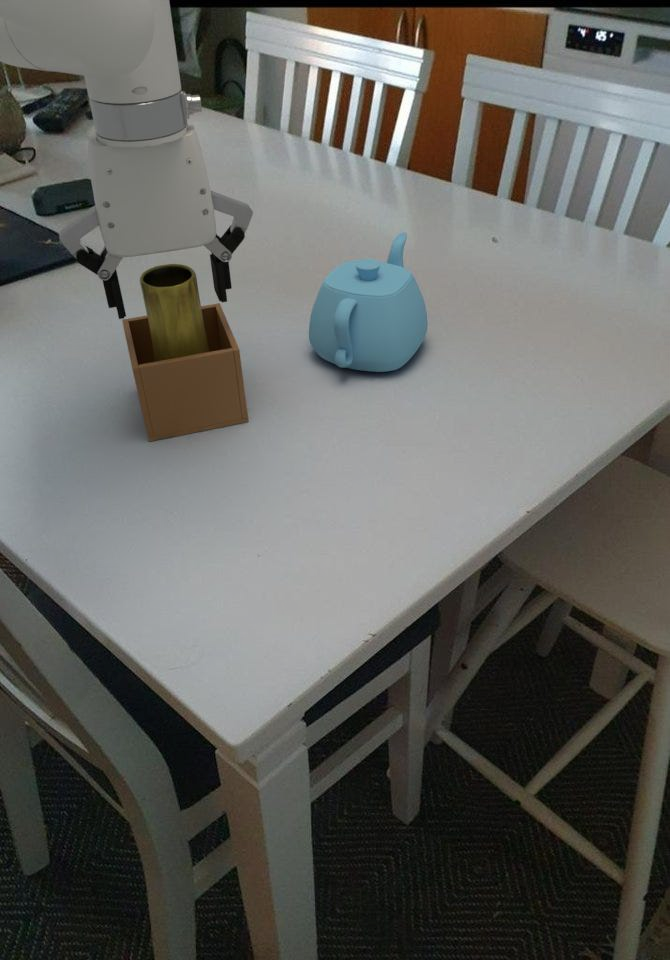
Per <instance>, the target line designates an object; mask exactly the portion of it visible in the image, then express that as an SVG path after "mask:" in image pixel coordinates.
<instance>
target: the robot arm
mask: <svg viewBox="0 0 670 960" xmlns="http://www.w3.org/2000/svg"><path fill="white" fill-rule="evenodd" d="M176 47H177V46H176V40H175V33H174V25H173V17H172V11H171V4H170V0H0V63H3V64H5V65H9V66H12V67H17V68H22V69H29V70H37V71H42V72H43V71H44V72H55V73H62V74H63V73H64V74H70V75H77V76H83V77H84V83H85V85H86V86H85V87H86V91H87V96H88V100H89V105H90V111H91V116H92V120H93V125H94V130H95V131H94V132H91V133H90V134H89V135H88V136H87V156H88V167H89V175H90V176H89V177H90V182H91V188H92V194H93V201H94V205H93V206H92V207H90V208H88V210H86V211H84V212H83V213H82V214H80V215H79V216H78V217H76V218H74V219H73V220H72V221H70V222H69V223H68V224H66V225H65V226H63V227H62V228H61V229H59V232H58V236H59V237H58V238H59V241H60V243H61V244H62V245H63V247H65V248H66V250H67V251H68V252H69V253H70V254H71V255H72V256H73V257H74V258H75V260H76V262H77V264H79V265H81V266H82V267H84V268H85V269H87V270H89V271H90V272H91V273H93V274H94V275H96V276H97V277H98V279H99V280H101V281H102V284H103V289H104V293H105V299H106V302H107V306H108V307H107V308H108V309H113V308H116V312H117V316H118V320H123V319H125V318H126V317H127V313H126V309H125V303H124V299H123V295H122V290H121V285H120V281H119V276H118V272H117V268H118V266H119V264H120V263H121V261H122V260H123V258H133V257H139V256H140V257H141V256H147V255H153V254H161V253H169V252H174V251H181V250H187V249H194V248H200V247H205V249H207V250H208V251H209V252H210V253H211V254H209V259H210V269H211V274H212V282H213V283H212V284H213V290H214V292H215V294H216V297H217V299H218V302H221V303H228V296H227V290H232V288H233V287H232V279H231V272H230V271H231V270H230V261H231V260H232V257H233V254H234V253H235V251H236V250H237V249H238V247H239V246H240V245H241V244H242V243H243V241H244V239H245V238H246V231H247V230H248V228H249V225H250V224H251V220H252V217H253V215H254V212H253V209H252V207H251V206H250V205H249V203H246V202H243V201H240V200H238V199H235V198H232V197H229V196H227V195H224V194H222V193H218V192H217V191H213V190H211V187H210V182H209V181H210V180H209V176H208V172H207V167H206V165H205V164H206V163H205V161H204V156H203V153H202V147H201V144H200V140H199V137H198V134H197V131H196V128H195V126H194V124H192V123H190V122H188V119H190V116H193V115H194V114H195V113H202V112H203V106H202V100H201V96H200V94H193V95H192V94H191V93H186V91H185V90H183V89H182V83H181V76H180V75H181V74H180V69H179V62H178V55H177V48H176ZM215 211H218V212H220V213H223V214H225V215H228V216H231V217H233V219H232V223H231V225H229V227H228V228H227V229H226V231H225V232H224V233H223V234H222V235H221V236H220V235H219V234H218V233H217V223H216V222H217V221H216V215H215ZM97 227H99V231H100V234H101V239H102V241H103V245H104V246H103V247H102V249H101V251H100V252H99V253H97V252H95V250H92V249H91V248H89V247H88V246H86V245H85V244H84V242H83V241H82V240H81V239H82V238H83V237H85V236H86V235H87V234H89V233H90V232H91V231H93V230H95V229H96V228H97Z"/></svg>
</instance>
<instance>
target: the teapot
mask: <svg viewBox="0 0 670 960" xmlns="http://www.w3.org/2000/svg"><path fill="white" fill-rule="evenodd" d="M407 239H408V234H407V233H406V232H401V233H398V234H397V235H396V237H395V238H394V239H393V241H392V244H391V247H390V250H389V253H388V256H387V260H386V262H383V261H379V260H377V259H374V258H362V259H353V260H348V261H344V262H342V263H340V264H339V265H337V266H336V267H335V268H334V269H333V270H332V271H331V272H330V273H329V274H328V275H327V276H326V277H325V278H324V279H323V281H322V284H321V286H320V288H319V290H318V292H317V295H316V298H315V299H314V303H313V306H312V309H311V312H310V317H309V318H310V319H309V325H308V340H309V344H310V345H311V347H312V348H313V350H314V351H315V353H316V354H317V355H318V356H319V357H320V358H322V359H323V360H325V361H327V362H329V363H331V364H334V365H336V366H337V367H338V368H340V369H341V368H347V369H350V370H354V371H355V370H356V371H364V372H375V373H376V372H377V373H380V372H381V373H382V372H383V373H386V372H392V371H396V370H399V369H400V368H402V367H403V366H404V365H405V364H407V363H408V362H409V361H410V360H411V359H412V357H413V356H414V355H415V354H416V353H417V351H418V350H419V348H420V347H421V345H422V343H423V342H424V340H425V338H426V335H427V333H428V324H429V323H428V313H427V307H426V303H425V299H424V296H423V293H422V291H421V289H420V287H419V284H418V282H417V280H416V278H415V276H414V274H413V272H411V271H410V270H409V269H407V268H406V267H405V266H404V249H405V245H406V241H407Z"/></svg>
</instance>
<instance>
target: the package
mask: <svg viewBox="0 0 670 960" xmlns="http://www.w3.org/2000/svg"><path fill="white" fill-rule="evenodd" d="M201 311H202V316H203V322H204V327H205V332H206V337H207V342H208V348H209V352H207V353H201V354H196V355H190V356H184V357H179V358H173V359H168V360H162V361H157V362H155V357H154V350H153V344H152V339H151V333H150V327H149V322H148V317H147V315H141V316H135V317H130V318H129V317H128V318H123V319H121V322H122V327H123V331H124V336H125V341H126V346H127V350H128V355H129V360H130V364H131V365H130V366H131V369H132V374H133V379H134V382H135V387H136V391H137V397H138V401H139V404H140V405H139V406H140V409H141V413H142V418H143V422H144V427H145V431H146V435H147V440H148V442H150V443H151V442H155V441H160V440H163V439H164V440H165V439H170V438H174V437H179V436H185V435H190V434H194V433H199V432H204V431H209V430H210V431H211V430H214V429H219V428H225V427H229V426H234V425H238V424H244V423H248V422H249V415H248V407H247V400H246V392H245V383H244V374H243V367H242V360H241V351H240V347H239V346H238V343H237V339H236V338H235V336H234V334H233V331H232V329H231V327H230V324H229V322H228V320H227V317H226V314H225V312H224V310H223V307H222V305H221V303H219V302H218V303H212V304H207V305H201Z"/></svg>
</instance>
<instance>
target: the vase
mask: <svg viewBox="0 0 670 960" xmlns="http://www.w3.org/2000/svg"><path fill="white" fill-rule="evenodd" d="M139 285H140V288H141V293H142V298H143V303H144V306H145V311H146V316H147V317H148V322H149V327H150V333H151V339H152V344H153V350H154V357H155V362H157V361H162V360H168V359H173V358H179V357H184V356H190V355H196V354H201V353H207V352H209V348H208V342H207V337H206V332H205V327H204V322H203V316H202V311H201V306H202V303H201V298H200V292H199V286H198V278H197V274H196V272H195V270H194V269H193V268H191V267H190V266H188V265H184V264H180V263H167V264H166V263H165V264H161V265H157V266H154V267H150V268H148V269H146V270H145V271H143V272H142V274H141V275H140V277H139Z"/></svg>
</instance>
